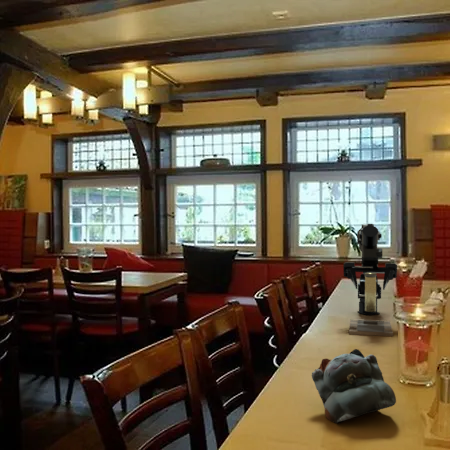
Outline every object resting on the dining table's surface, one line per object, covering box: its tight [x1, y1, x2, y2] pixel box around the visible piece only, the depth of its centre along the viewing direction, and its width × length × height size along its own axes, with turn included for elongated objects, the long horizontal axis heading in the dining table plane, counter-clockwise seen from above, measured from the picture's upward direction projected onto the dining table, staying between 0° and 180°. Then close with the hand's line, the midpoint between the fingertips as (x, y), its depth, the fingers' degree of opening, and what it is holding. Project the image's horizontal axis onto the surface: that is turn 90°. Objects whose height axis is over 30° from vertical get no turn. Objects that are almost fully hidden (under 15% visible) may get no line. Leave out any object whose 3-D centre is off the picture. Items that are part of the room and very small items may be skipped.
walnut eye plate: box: [348, 319, 394, 337], centre depth 185 cm, size 20×14×3 cm
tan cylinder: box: [365, 273, 377, 312], centre depth 180 cm, size 4×4×13 cm
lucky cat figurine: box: [311, 348, 397, 425], centre depth 108 cm, size 15×12×14 cm
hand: (370, 288), depth 188 cm, fingers open, 9 cm apart
